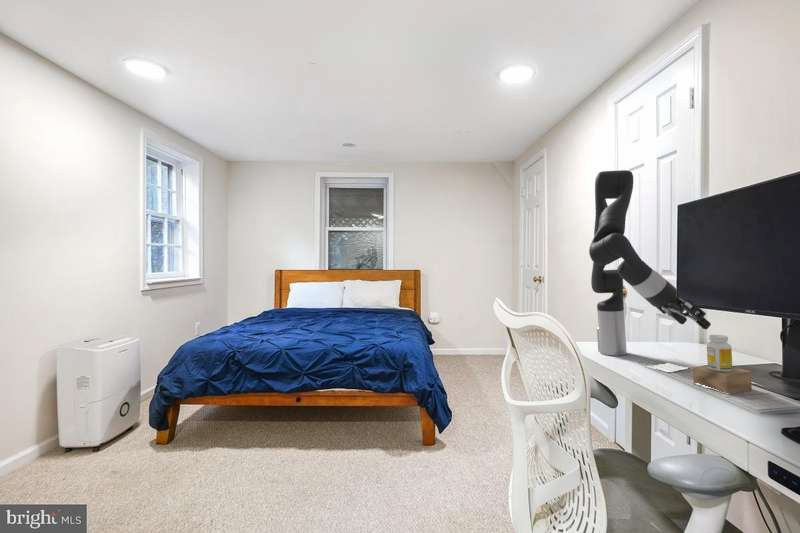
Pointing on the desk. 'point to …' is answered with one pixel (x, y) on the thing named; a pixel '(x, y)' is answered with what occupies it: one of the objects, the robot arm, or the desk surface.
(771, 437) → the desk surface
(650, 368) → the page
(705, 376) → the walnut block
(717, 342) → the supplement bottle
